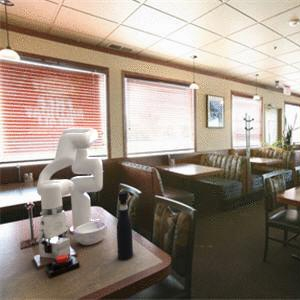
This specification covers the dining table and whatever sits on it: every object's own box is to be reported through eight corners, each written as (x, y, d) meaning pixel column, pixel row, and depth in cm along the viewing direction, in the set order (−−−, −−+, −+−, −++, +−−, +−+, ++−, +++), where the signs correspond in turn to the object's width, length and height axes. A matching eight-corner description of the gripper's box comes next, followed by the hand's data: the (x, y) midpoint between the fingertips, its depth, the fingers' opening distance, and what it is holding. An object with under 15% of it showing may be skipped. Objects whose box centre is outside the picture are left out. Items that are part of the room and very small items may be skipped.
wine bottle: (136, 254, 109) (133, 191, 107) (126, 261, 103) (123, 194, 101) (125, 252, 111) (122, 190, 109) (114, 259, 105) (111, 193, 103)
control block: (73, 260, 104) (73, 252, 104) (79, 267, 99) (78, 258, 98) (46, 270, 97) (45, 261, 96) (50, 278, 91) (49, 268, 91)
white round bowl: (67, 245, 119) (66, 230, 118) (93, 233, 133) (92, 219, 132) (89, 250, 113) (88, 234, 113) (114, 237, 128) (113, 223, 127)
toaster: (70, 253, 108) (69, 237, 107) (59, 259, 103) (58, 243, 102) (51, 250, 110) (50, 235, 110) (39, 256, 105) (38, 241, 104)
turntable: (69, 248, 116) (69, 245, 116) (76, 256, 108) (76, 253, 107) (33, 259, 105) (33, 256, 105) (38, 269, 97) (38, 266, 97)
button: (66, 257, 100) (66, 253, 100) (69, 260, 98) (69, 256, 97) (55, 260, 97) (55, 256, 97) (57, 264, 95) (57, 260, 95)
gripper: (40, 218, 96) (43, 260, 97) (75, 205, 113) (77, 241, 114) (25, 216, 97) (28, 258, 99) (62, 204, 114) (64, 240, 115)
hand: (54, 249), depth 106 cm, fingers closed on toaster, 5 cm apart
